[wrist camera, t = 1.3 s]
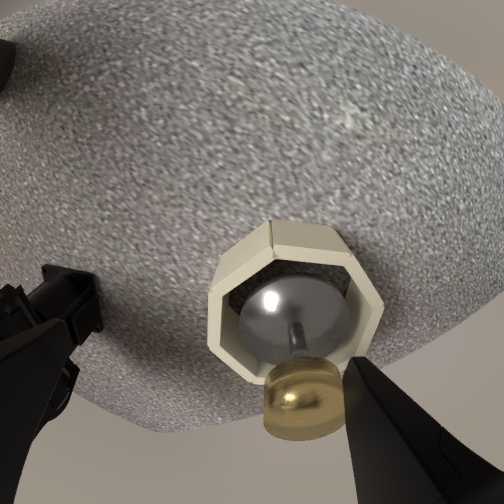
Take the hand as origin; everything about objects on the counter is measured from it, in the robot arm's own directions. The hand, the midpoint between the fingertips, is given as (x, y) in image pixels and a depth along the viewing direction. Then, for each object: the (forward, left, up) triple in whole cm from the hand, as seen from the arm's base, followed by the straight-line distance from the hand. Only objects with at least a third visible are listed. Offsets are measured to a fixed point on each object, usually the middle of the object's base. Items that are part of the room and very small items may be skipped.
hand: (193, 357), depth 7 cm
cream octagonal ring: (+4, -6, -13) cm, 15 cm away
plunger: (+4, -5, -9) cm, 11 cm away
